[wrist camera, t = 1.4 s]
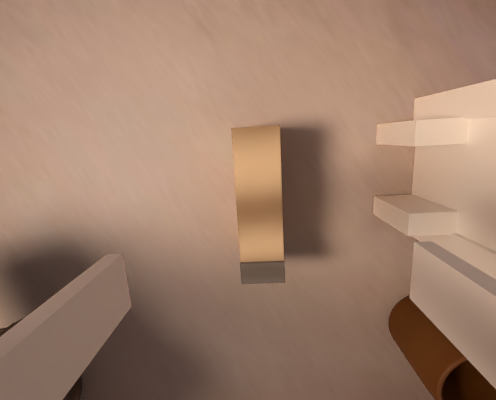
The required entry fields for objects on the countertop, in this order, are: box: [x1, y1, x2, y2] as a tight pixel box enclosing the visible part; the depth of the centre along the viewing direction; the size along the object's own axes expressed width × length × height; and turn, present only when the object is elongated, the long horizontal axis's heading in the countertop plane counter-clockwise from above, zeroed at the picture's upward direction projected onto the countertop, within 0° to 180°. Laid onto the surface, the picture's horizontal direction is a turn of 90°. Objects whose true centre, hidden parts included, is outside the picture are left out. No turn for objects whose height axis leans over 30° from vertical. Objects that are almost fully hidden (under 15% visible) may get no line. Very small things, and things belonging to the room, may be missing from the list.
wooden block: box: [231, 125, 285, 284], centre depth 27 cm, size 14×4×6 cm, turn 3°
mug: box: [389, 296, 496, 400], centre depth 28 cm, size 12×8×9 cm, turn 165°
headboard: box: [373, 79, 496, 279], centre depth 21 cm, size 6×14×16 cm, turn 3°
